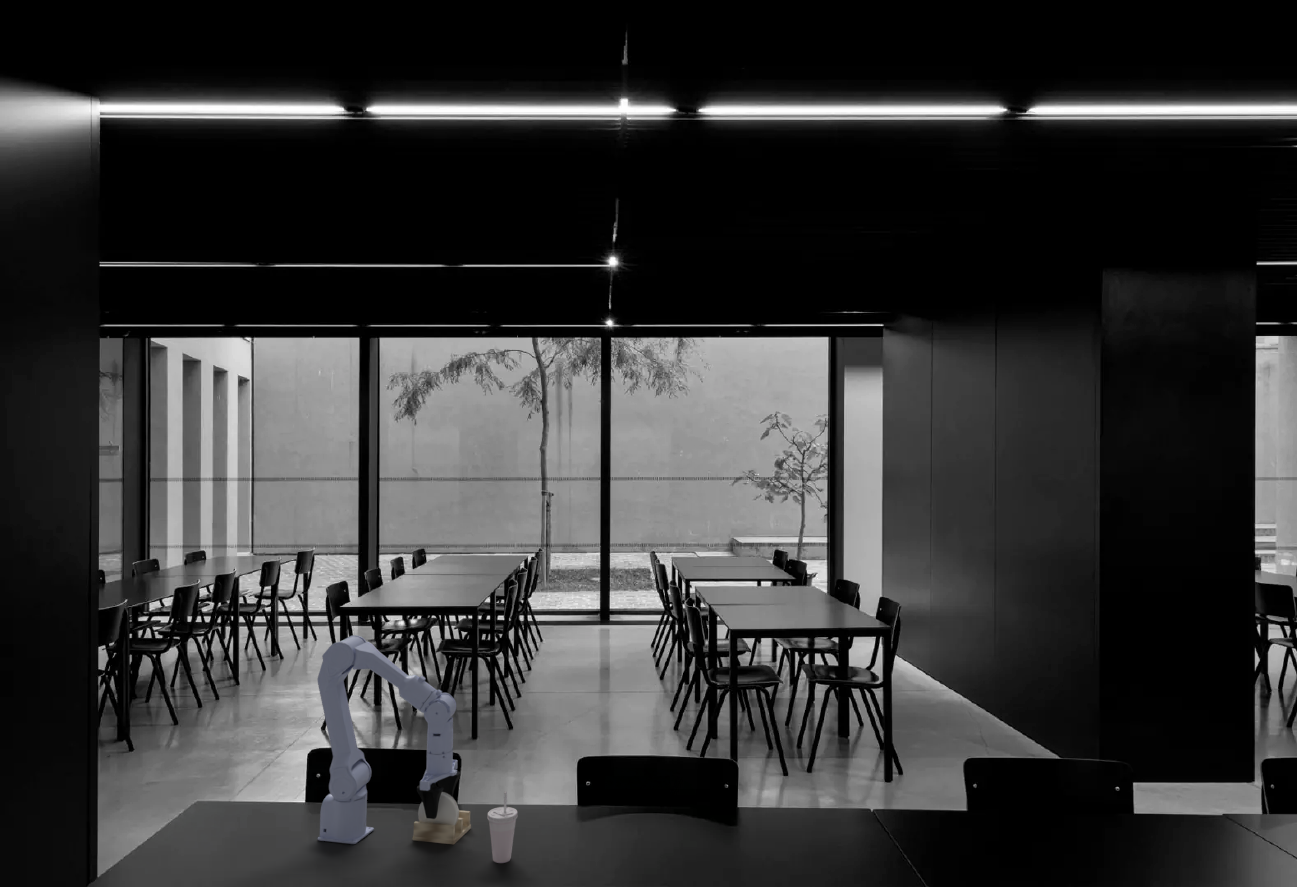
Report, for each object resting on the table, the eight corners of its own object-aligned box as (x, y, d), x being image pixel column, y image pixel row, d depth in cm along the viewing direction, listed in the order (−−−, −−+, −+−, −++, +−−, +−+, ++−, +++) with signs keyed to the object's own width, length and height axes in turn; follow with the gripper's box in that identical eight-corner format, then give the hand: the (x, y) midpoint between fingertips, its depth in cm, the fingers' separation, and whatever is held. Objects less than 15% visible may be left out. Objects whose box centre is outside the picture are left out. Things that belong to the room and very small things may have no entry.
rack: (412, 840, 181) (412, 822, 181) (431, 824, 190) (431, 807, 190) (453, 844, 179) (454, 827, 179) (470, 828, 188) (471, 811, 188)
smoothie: (510, 867, 168) (511, 798, 169) (481, 864, 170) (482, 796, 170) (521, 853, 175) (522, 787, 175) (493, 851, 176) (494, 785, 177)
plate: (417, 834, 182) (418, 793, 183) (421, 830, 184) (422, 790, 185) (454, 838, 180) (455, 796, 181) (458, 834, 182) (459, 793, 183)
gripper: (441, 762, 175) (440, 826, 175) (469, 742, 190) (468, 801, 189) (411, 759, 177) (410, 823, 176) (442, 739, 191) (440, 798, 190)
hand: (438, 811), depth 183 cm, fingers open, 6 cm apart
